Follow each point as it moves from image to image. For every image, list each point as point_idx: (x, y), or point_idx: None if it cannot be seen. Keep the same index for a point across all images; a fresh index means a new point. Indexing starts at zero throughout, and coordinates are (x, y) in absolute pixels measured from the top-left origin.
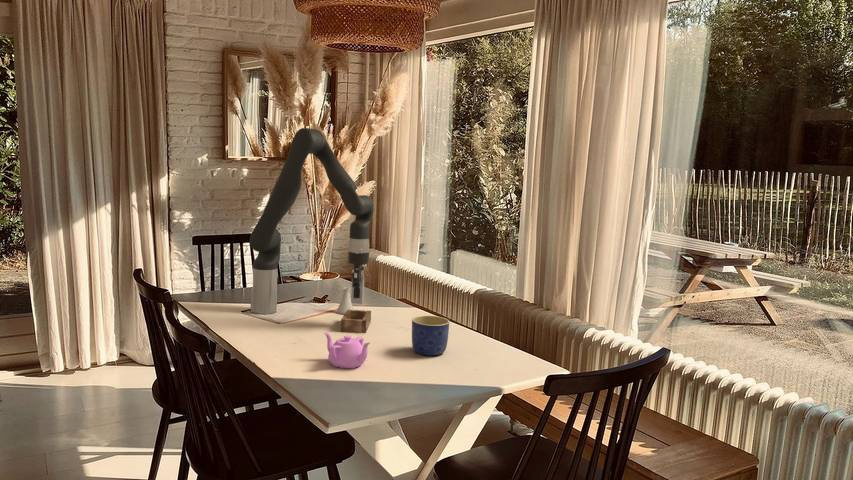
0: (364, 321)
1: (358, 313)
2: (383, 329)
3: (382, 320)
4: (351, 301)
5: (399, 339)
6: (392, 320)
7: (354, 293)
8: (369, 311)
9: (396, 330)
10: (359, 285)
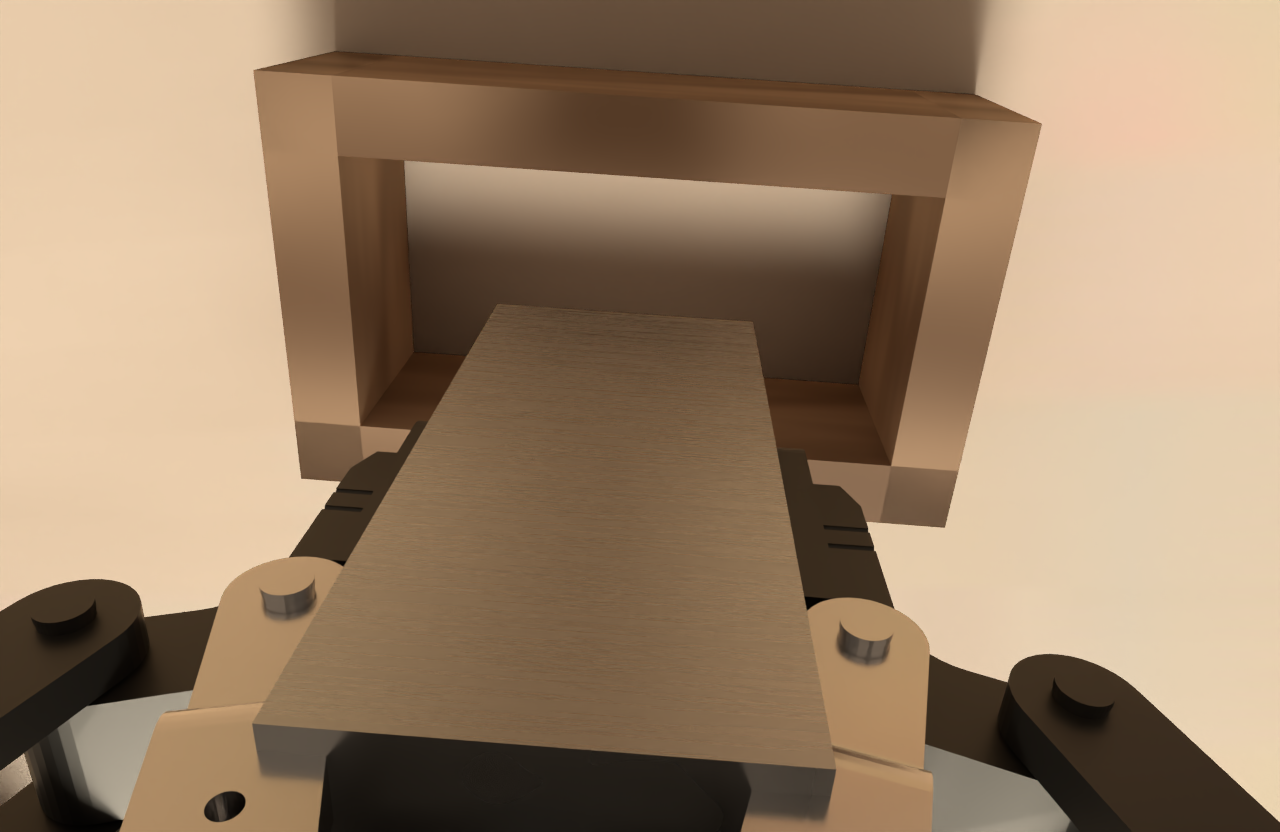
0: (302, 453)
1: (907, 322)
2: None
3: (1018, 570)
4: (488, 324)
5: None
6: None
7: (332, 499)
8: (900, 505)
9: None
10: (96, 824)
